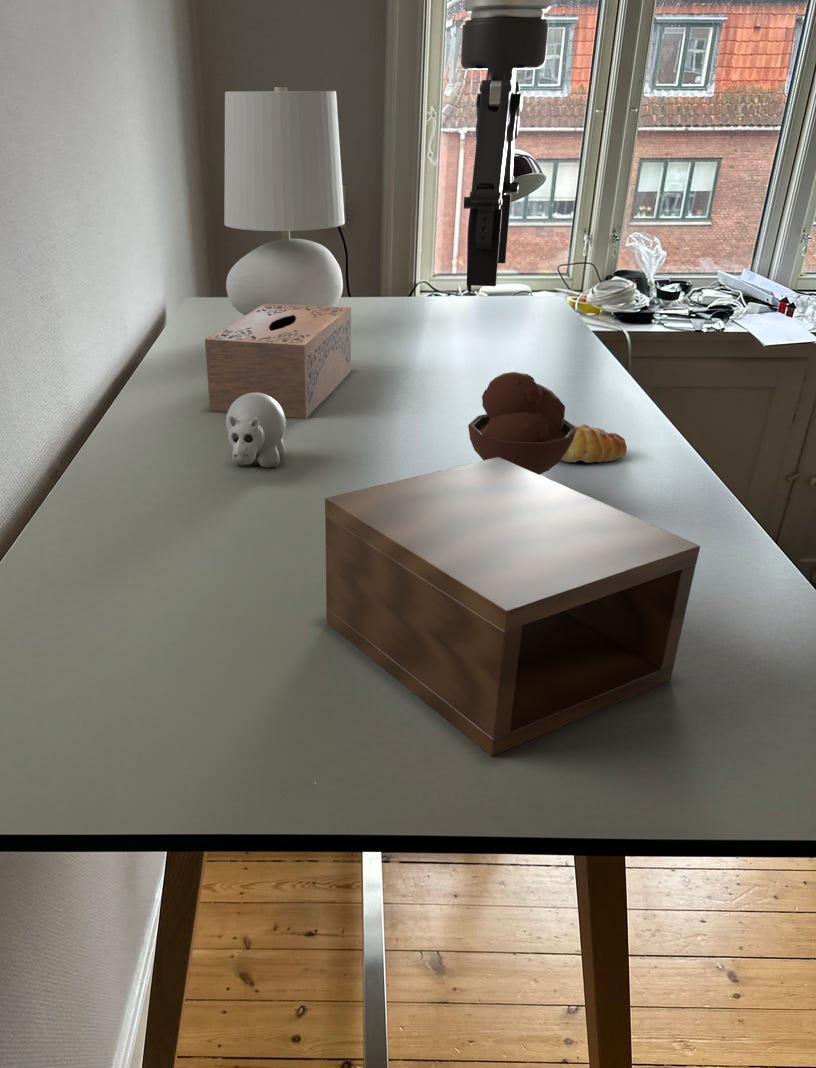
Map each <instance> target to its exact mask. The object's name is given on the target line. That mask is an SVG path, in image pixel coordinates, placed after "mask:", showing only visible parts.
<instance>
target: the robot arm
mask: <svg viewBox="0 0 816 1068" xmlns="http://www.w3.org/2000/svg"><path fill="white" fill-rule="evenodd" d="M552 1H553V0H464V11H465V12H466V13H467V14H470V19H468V20H465V22H464V24H462V34H461V53H460V65H461V67H462V68H463V69H465V70H467V71H468V70H470V71H472V70H473V71H485V70H486V71H487V72H486V79H482V80H481V84H480V85H479V92H480V93H477V96H476V103H475V104H476V105H475V106H476V108H475V109H476V110H475V111H476V124H475V141H476V143H475V150H474V151H475V153H474V162H473V174H472V181H471V190H470V192H469V196H463V209H464V210H466V209H467V210H468V209H469V210H470V223H469V237H468V254H467V255H468V256H467V270H466V271H467V272H466V284H465V285H466V286H472V287H480V286H481V287H496V286H497V278H498V266H499V264H506V263H507V252H508V241H509V240H508V239H509V227H510V226H509V225H510V213H511V204H512V203H511V202H512V194H518V193H519V183H520V182H519V181H514V180H515V179H514V178H515V176H514V158H515V144H516V143H515V140H516V139H518V136H519V127H520V116H521V115H522V110H523V103H524V102H523V100H524V93H519V92H520V83H519V81H518V80H517V70H538V69H542V68H543V67H544V65H545V63H546V59H547V48H548V37H549V28H550V27H549V25H550V24H549V23H548V19H546V18H544V13H545V12H548V11H549V10H550V9H551V8H552Z"/></svg>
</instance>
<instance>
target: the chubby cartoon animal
mask: <svg viewBox="0 0 816 1068" xmlns="http://www.w3.org/2000/svg"><path fill="white" fill-rule="evenodd" d="M286 424H287V421H286V417H285V415H284V412H283V410H282V408H281V406H280V405H279V404H278V403H277V401H275V400H274V399H273V398H272V397H270V396H268V395H266V394H263V393H248V394H245V395H242V396H241V397H239V398H238V399H236V400H235V401H234V402H233V404H232V405H231V406H230V408H229V410H228V412H226V418H225V427H226V432H227V435H228V442H229V445H230V446H231V448H232V453H231V461H232V463H234V464H235V465H237V466H248V465H251V464H252V463H254V461H255V460H256V459H257V460H258V464H259V466H260V467H262V468H266V469H268V468H269V469H270V468H273V467H276V466H278V465H279V464H280V458H282V457H283V456H284V455H285V454H286V453H285V452H286V448H285V443H284V440H283V437H284V435H285V432H286V427H287V425H286Z"/></svg>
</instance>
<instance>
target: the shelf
mask: <svg viewBox="0 0 816 1068" xmlns="http://www.w3.org/2000/svg"><path fill="white" fill-rule="evenodd" d="M324 515H325V516H324V517H325V519H324V521H325V523H324V524H325V527H324V528H325V596H326V597H325V598H326V604H325V606H326V608H325V609H326V610H325V611H326V612H325V613H326V624H328V625H329V626H330V627H331V628H333V629H334V630H335V631H336V632H337V633H339V634H340V635H341V636H343V637H344V639H346V640H347V641H348V642H350V643H351V644H352V645H353V646H355V647H356V648H357V649H359V650H360V651H361V652H362V653H363V654H365V655H366V656H367V657H368V658H369V659H371V660H372V661H373V662H375V663H376V664H377V665H378V666H379V667H381V668H382V669H383V670H384V671H385V672H387V673H388V674H389V675H390V676H392V677H393V678H394V679H396V681H397V682H399V683H400V684H402V685H403V686H404V687H406V689H408V690H409V691H410V692H411V693H412V694H414V695H415V696H417V697H418V698H419V699H420V700H421V701H422V702H424V703H425V704H426V705H427V706H429V707H430V708H431V709H432V710H433V711H435V712H436V713H437V714H439V715H440V716H441V717H442V718H444V720H446V721H447V722H449V723H450V725H452V726H453V727H454V728H456V729H457V730H458V731H459V732H461V733H462V734H463V735H464V736H465V737H467V738H468V739H469V740H471V741H472V742H473V743H474V744H475V745H477V746H478V747H479V748H480V749H482V750H483V751H484V752H486V753H487V754H488V755H489V756H490V757H495V756H497V755H499V754H501V753H503V752H505V751H508V750H511V749H513V748H515V747H518V746H520V745H523V744H524V743H527V742H530V741H531V740H534V739H537V738H539V737H541V736H543V735H546V734H548V733H552V732H553V731H554V730H557V729H560V728H562V727H565V726H567V725H570V724H572V723H574V722H577V721H579V720H581V719H583V718H585V717H588V716H590V715H593V714H595V713H597V712H600V711H602V710H604V709H607V708H609V707H611V706H614V705H616V704H618V703H621V702H623V701H625V700H627V699H630V698H632V697H635V696H637V695H639V694H642V693H644V692H646V691H648V690H651V689H653V688H656V687H658V686H661V685H663V684H665V683H667V682H669V681H671V680H672V677H673V671H674V667H675V662H676V657H677V652H678V648H679V643H680V640H681V635H682V630H683V625H684V620H685V617H686V612H687V608H688V604H689V597H690V594H691V588H692V585H693V581H694V575H695V571H696V565H697V563H698V558H699V553H700V549H701V545H699V544H697V543H695V542H692V541H691V540H688V539H686V538H684V537H681V536H680V535H677V534H675V533H673V532H670V531H667V530H665V529H664V528H661V527H659V526H656V525H654V524H652V523H650V522H647V521H645V520H642V519H640V518H639V517H636V516H634V515H631V514H629V513H627V512H624V511H623V510H620V509H617V508H615V507H613V506H611V505H609V504H607V503H605V502H602V501H600V500H597V499H595V498H592V497H591V496H588V495H586V494H583V493H581V492H579V491H577V490H575V489H573V488H570V487H568V486H565V485H563V484H561V483H559V482H556V481H554V480H552V479H549V478H547V477H546V476H543V475H542V474H540V475H538V474H536V473H534V472H531V471H529V470H527V469H525V468H522V467H520V466H518V465H516V464H513V463H511V462H509V461H506V460H504V459H502V458H500V457H495V458H491V459H487V460H483V459H482V460H479V461H475V462H471V463H470V462H469V463H466V464H462V465H458V466H454V467H450V468H446V469H441V470H437V471H434V472H429V473H424V474H422V475H421V474H420V475H416V476H412V477H407V478H404V479H400V480H395V481H391V482H387V483H381V484H378V485H375V486H370V487H365V488H362V489H358V490H354V491H349V492H344V493H341V494H336V495H332V496H329V497H328V496H327V497H325V498H324Z"/></svg>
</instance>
